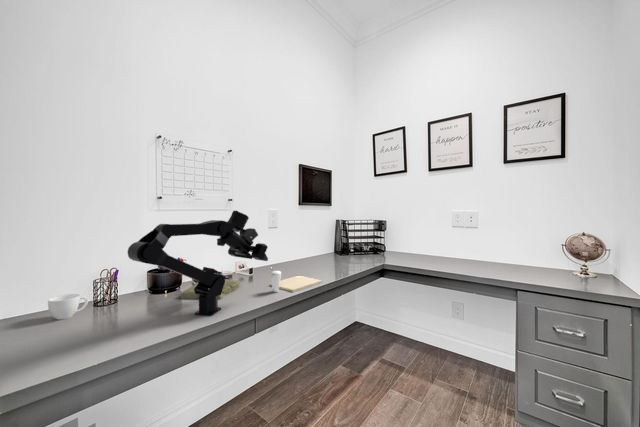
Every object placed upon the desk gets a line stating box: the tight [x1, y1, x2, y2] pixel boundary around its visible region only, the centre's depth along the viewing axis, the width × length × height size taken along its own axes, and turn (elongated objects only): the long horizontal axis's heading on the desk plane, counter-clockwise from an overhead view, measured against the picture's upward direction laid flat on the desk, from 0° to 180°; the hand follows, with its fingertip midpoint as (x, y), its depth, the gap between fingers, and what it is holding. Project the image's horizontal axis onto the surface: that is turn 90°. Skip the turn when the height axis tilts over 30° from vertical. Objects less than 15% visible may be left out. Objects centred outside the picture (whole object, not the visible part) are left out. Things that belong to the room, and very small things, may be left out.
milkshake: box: [270, 267, 282, 293], centre depth 119 cm, size 4×5×10 cm
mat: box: [269, 275, 323, 293], centre depth 130 cm, size 20×16×1 cm
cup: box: [47, 293, 89, 321], centre depth 92 cm, size 8×10×7 cm
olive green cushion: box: [180, 279, 242, 300], centre depth 119 cm, size 19×20×4 cm
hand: (259, 258), depth 116 cm, fingers open, 9 cm apart
